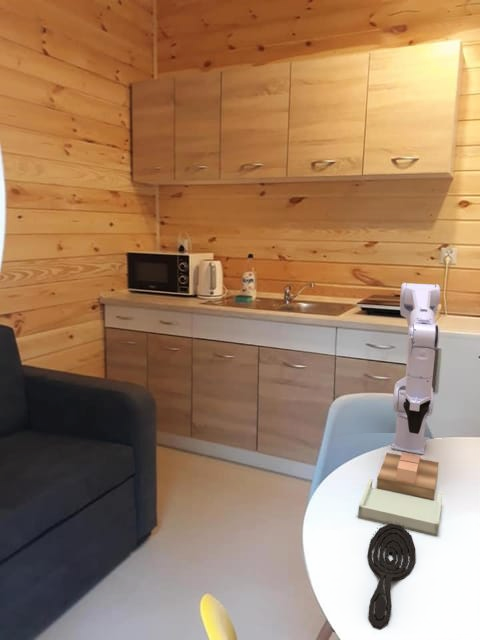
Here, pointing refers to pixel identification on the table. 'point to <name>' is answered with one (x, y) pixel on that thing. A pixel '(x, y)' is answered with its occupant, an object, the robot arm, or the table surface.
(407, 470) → the tile front
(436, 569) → the table surface
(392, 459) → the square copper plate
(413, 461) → the tile rear
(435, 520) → the tray
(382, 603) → the hairbrush
